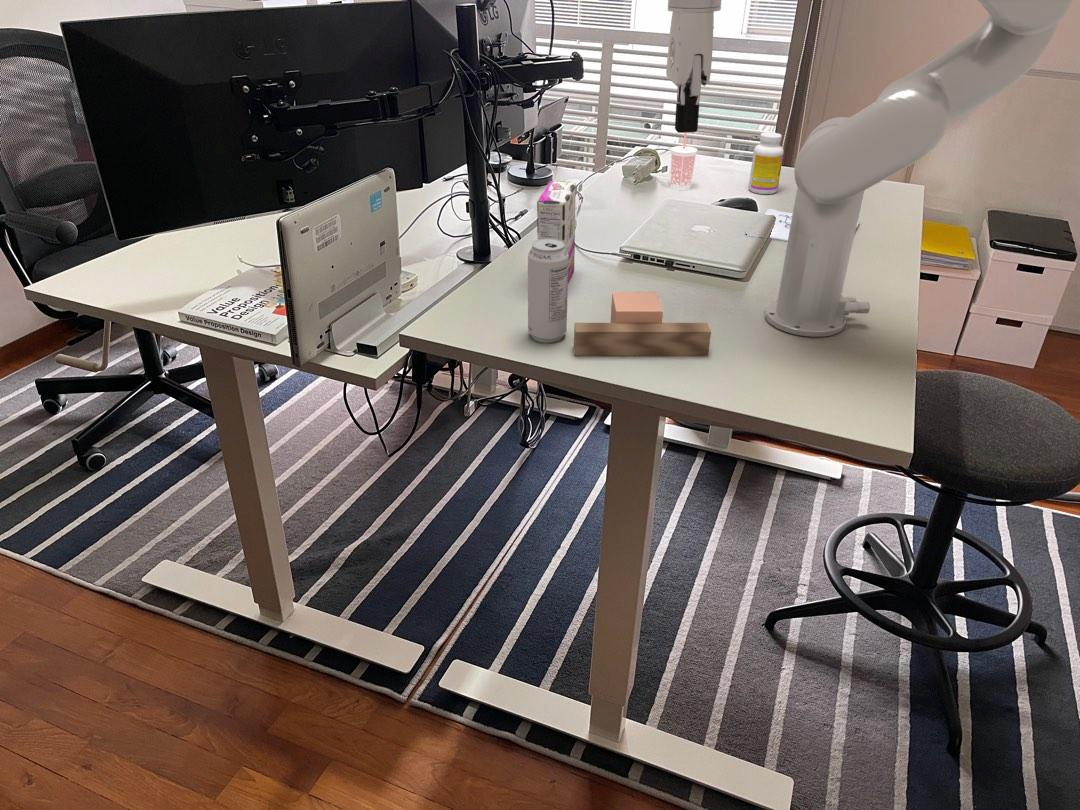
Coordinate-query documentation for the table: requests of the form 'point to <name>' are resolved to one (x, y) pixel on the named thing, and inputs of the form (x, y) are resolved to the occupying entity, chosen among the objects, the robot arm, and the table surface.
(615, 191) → the table surface
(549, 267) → the energy drink can
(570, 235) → the candy bar box
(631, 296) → the terracotta block
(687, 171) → the beverage cup
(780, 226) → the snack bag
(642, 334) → the walnut plank
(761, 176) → the supplement bottle
